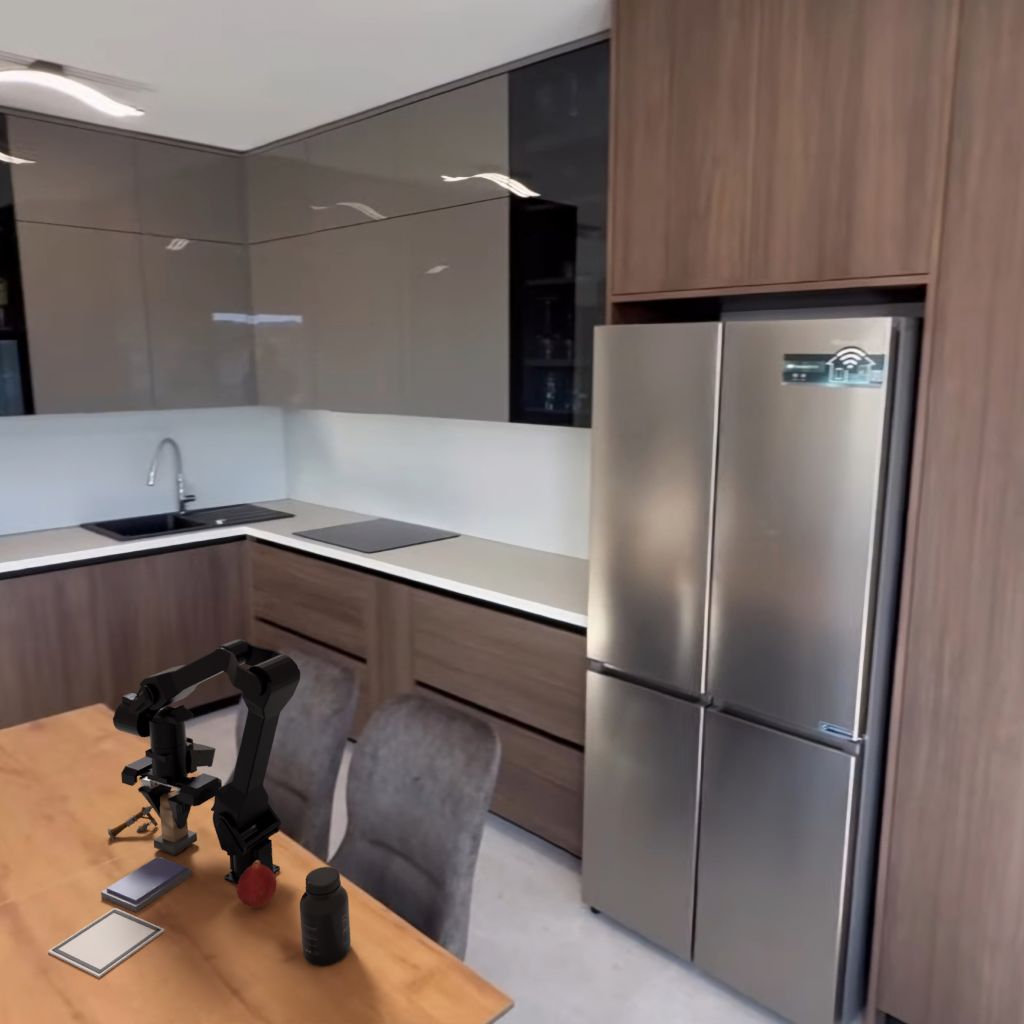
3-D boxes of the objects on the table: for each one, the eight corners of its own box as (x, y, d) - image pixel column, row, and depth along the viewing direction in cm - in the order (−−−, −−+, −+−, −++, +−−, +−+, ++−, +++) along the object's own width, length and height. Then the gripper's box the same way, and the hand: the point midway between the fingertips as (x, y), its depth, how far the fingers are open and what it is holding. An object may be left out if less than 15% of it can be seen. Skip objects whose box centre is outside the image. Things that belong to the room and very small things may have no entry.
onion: (237, 922, 126) (234, 874, 124) (239, 899, 131) (236, 853, 130) (277, 916, 127) (275, 868, 126) (277, 893, 133) (275, 847, 131)
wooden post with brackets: (163, 823, 152) (150, 805, 150) (120, 851, 149) (107, 832, 147) (161, 818, 153) (149, 800, 152) (119, 846, 150) (106, 828, 149)
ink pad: (192, 874, 138) (191, 866, 137) (136, 912, 128) (135, 903, 128) (158, 861, 141) (158, 853, 141) (101, 897, 132) (100, 889, 131)
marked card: (164, 930, 124) (164, 928, 124) (99, 977, 114) (98, 975, 114) (115, 909, 129) (114, 907, 129) (48, 952, 119) (47, 950, 119)
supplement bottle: (330, 929, 124) (327, 856, 122) (360, 949, 120) (358, 873, 118) (292, 954, 119) (288, 877, 117) (322, 975, 115) (318, 897, 113)
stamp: (197, 840, 147) (193, 792, 145) (174, 855, 142) (170, 805, 141) (177, 833, 149) (173, 786, 147) (154, 847, 145) (150, 799, 143)
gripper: (243, 734, 145) (247, 816, 148) (168, 714, 154) (174, 792, 156) (193, 760, 136) (199, 847, 138) (116, 737, 144) (123, 820, 146)
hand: (174, 825), depth 145 cm, fingers closed on stamp, 3 cm apart
